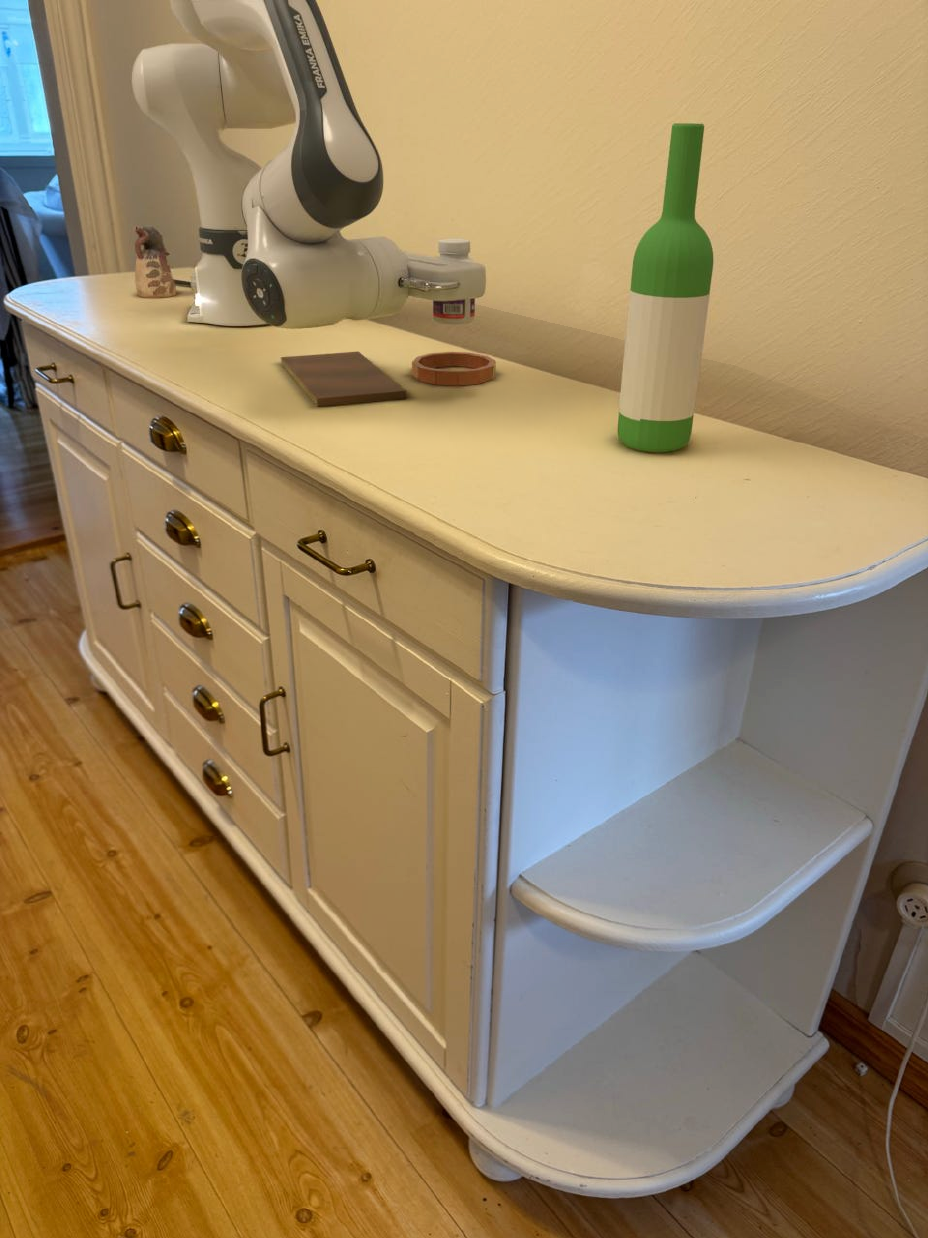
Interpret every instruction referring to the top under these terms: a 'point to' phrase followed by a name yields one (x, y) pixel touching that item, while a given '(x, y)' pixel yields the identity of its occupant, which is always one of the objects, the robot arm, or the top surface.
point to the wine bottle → (667, 310)
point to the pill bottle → (455, 309)
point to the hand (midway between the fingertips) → (458, 266)
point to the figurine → (152, 265)
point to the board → (341, 379)
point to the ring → (428, 374)
